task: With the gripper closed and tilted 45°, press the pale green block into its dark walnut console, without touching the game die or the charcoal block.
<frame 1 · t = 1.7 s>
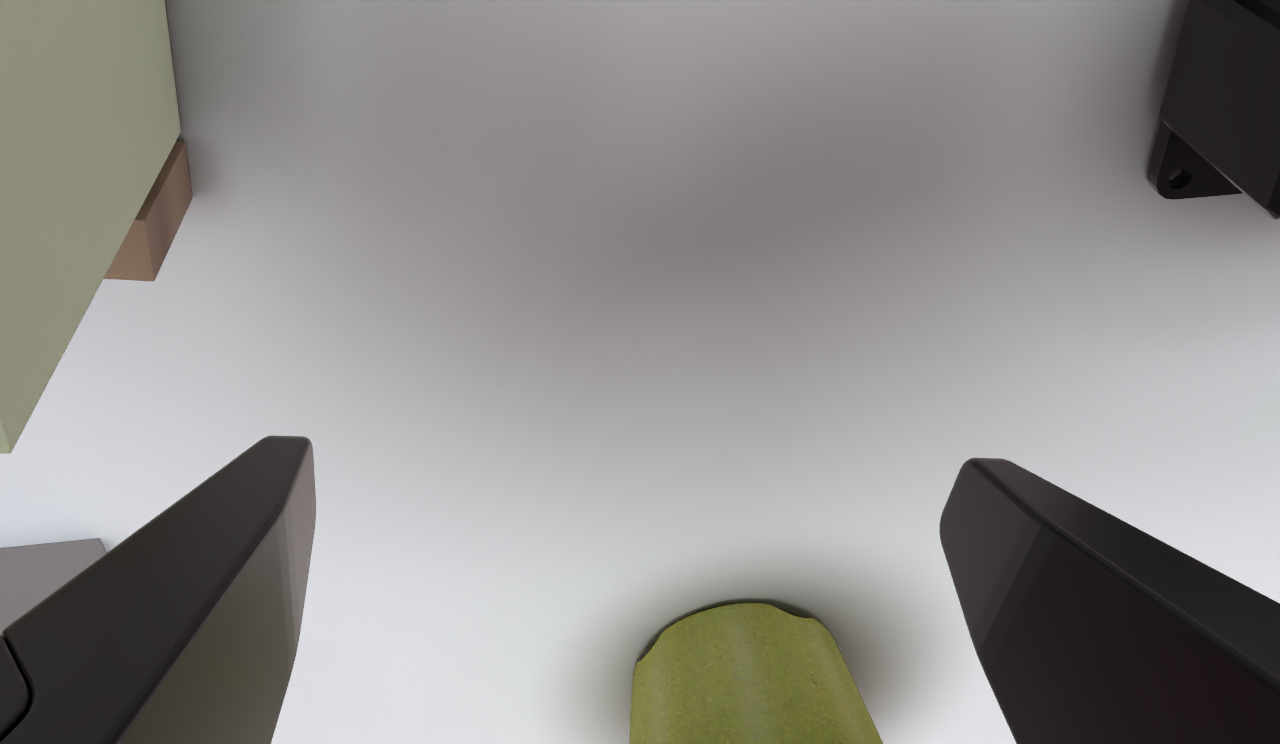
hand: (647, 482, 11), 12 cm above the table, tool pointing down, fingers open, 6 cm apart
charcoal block: (33, 615, 28), on the table
plant pot: (731, 661, 32), on the table
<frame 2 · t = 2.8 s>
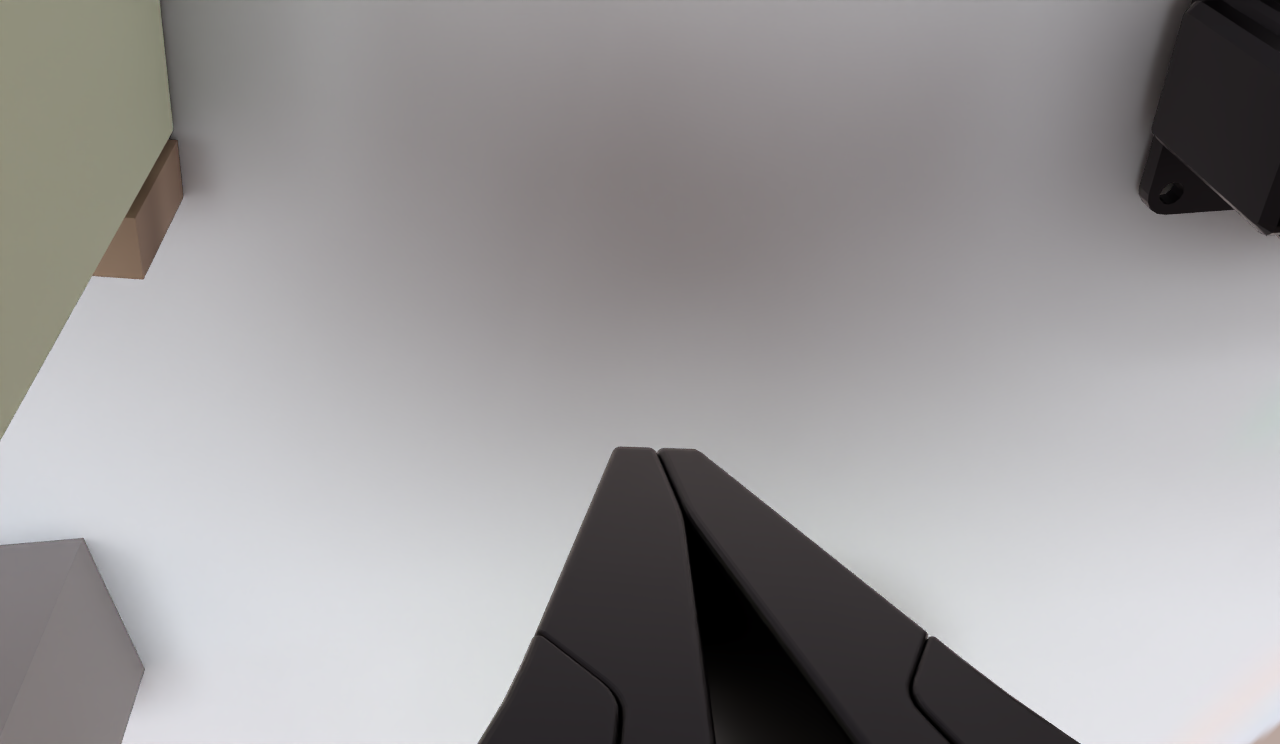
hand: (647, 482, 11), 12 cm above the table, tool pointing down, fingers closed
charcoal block: (14, 614, 28), on the table
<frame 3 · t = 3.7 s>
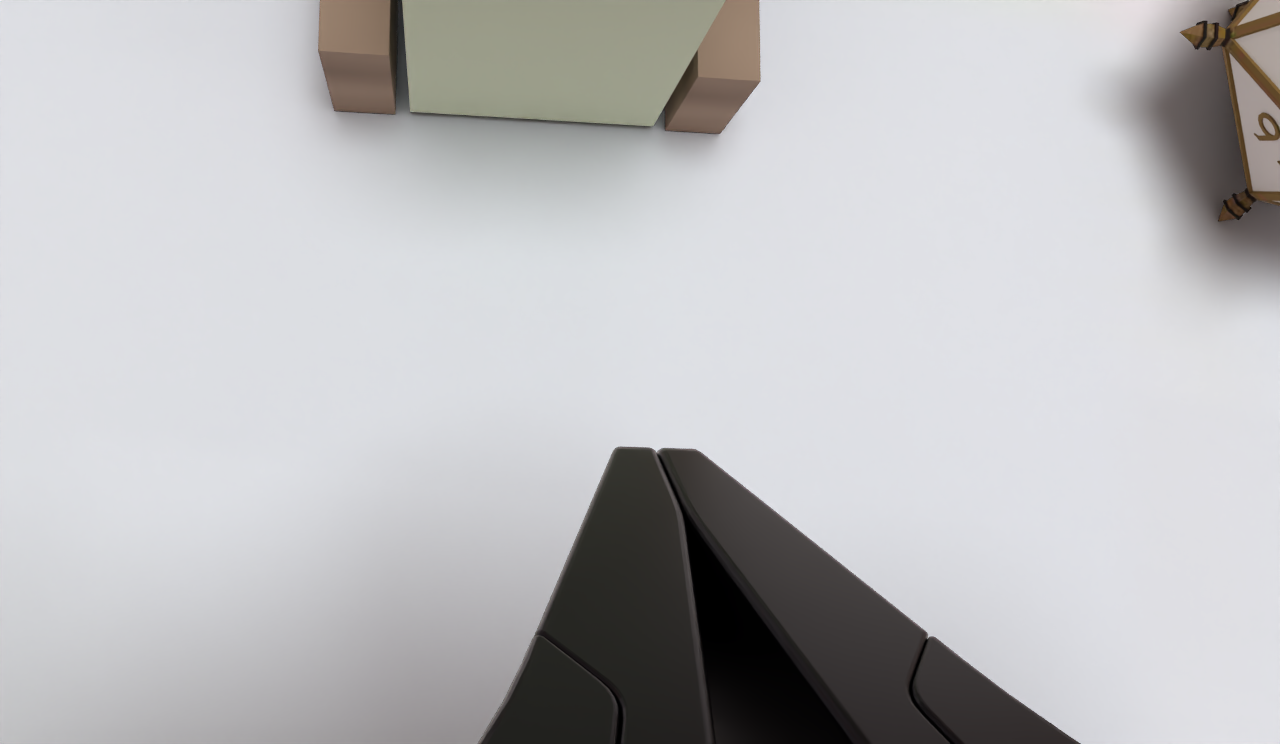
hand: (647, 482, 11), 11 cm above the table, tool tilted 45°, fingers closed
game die: (1273, 128, 26), on the table
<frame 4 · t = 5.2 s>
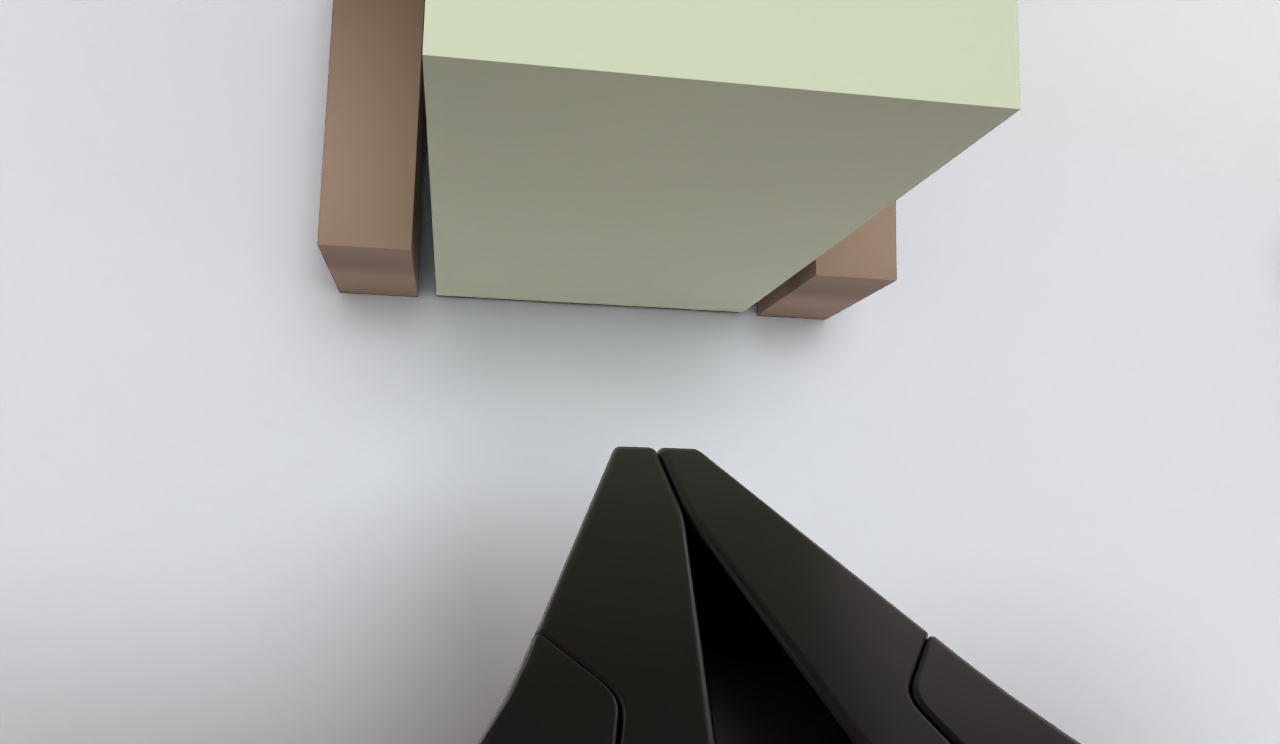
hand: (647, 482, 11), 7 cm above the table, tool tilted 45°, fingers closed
walnut console: (598, 74, 18), on the table
pale green block: (645, 35, 14), point 5 cm above the table, slide at 0.0 cm
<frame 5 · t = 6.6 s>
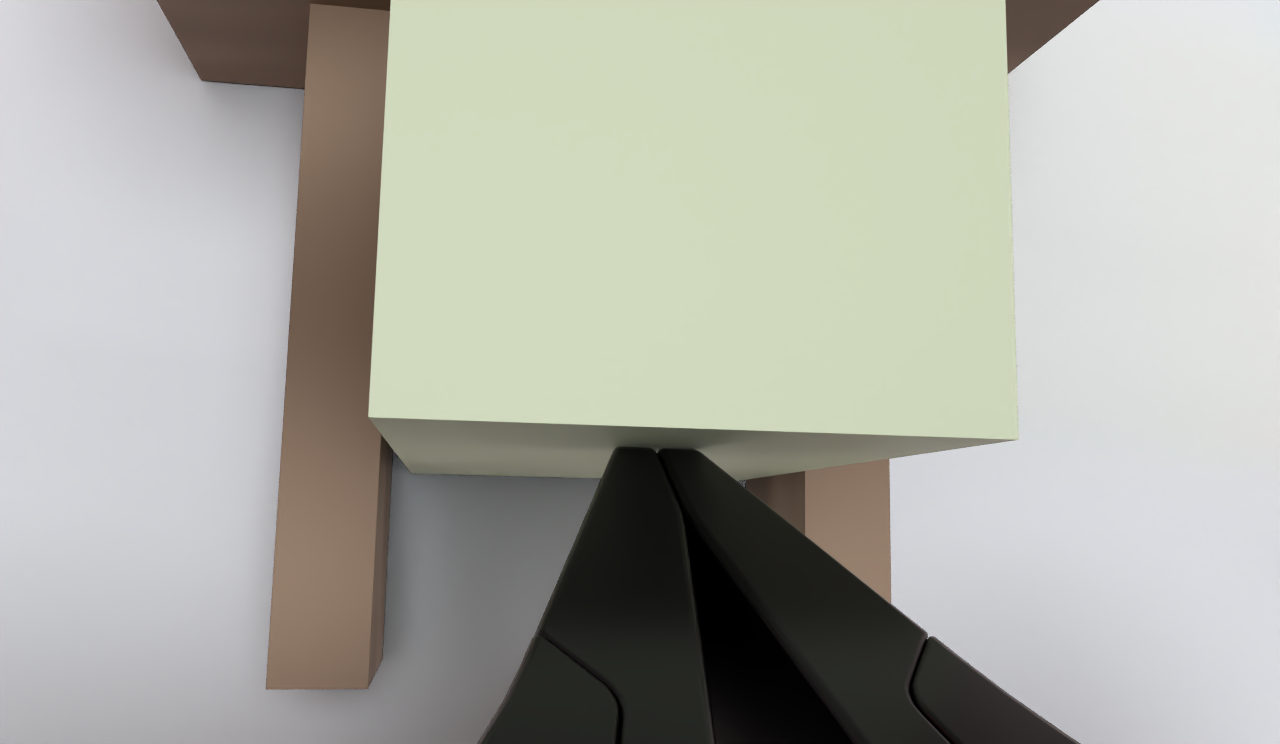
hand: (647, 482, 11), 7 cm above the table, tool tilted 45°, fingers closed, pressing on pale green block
walnut console: (575, 400, 17), on the table
pale green block: (623, 250, 13), point 5 cm above the table, slide at 2.8 cm, touching gripper
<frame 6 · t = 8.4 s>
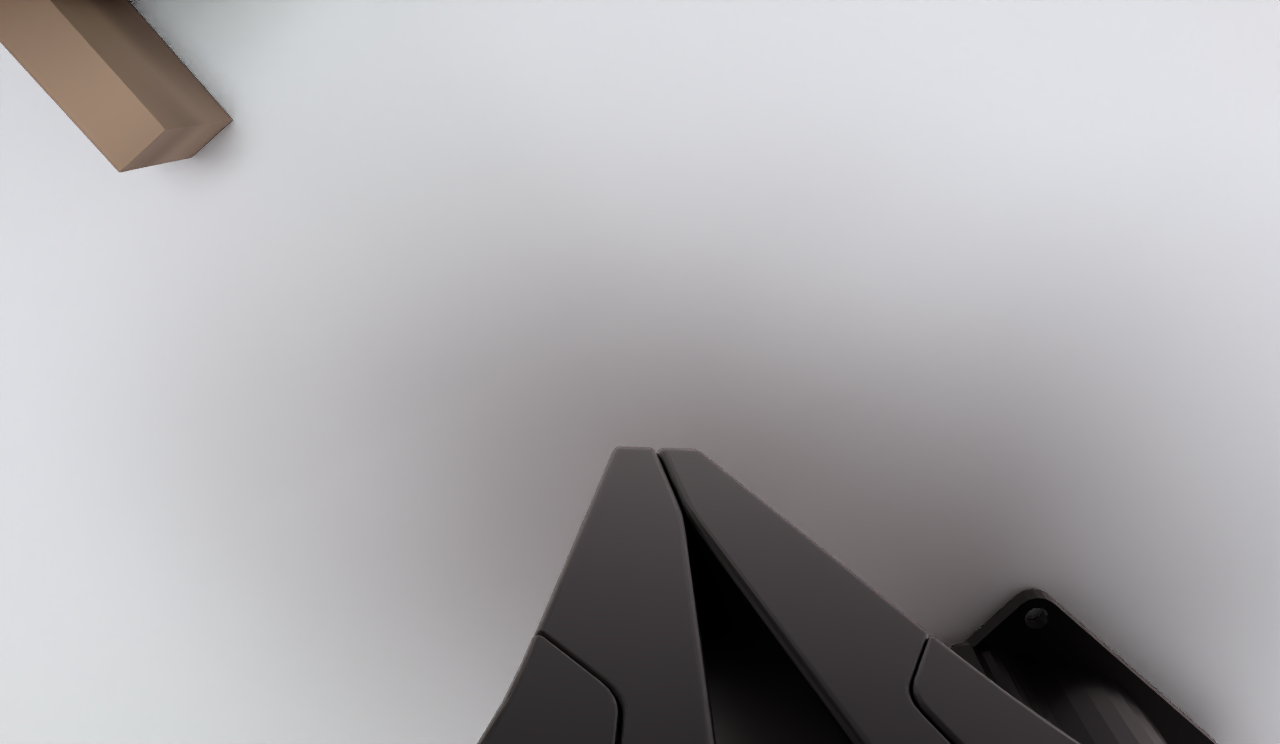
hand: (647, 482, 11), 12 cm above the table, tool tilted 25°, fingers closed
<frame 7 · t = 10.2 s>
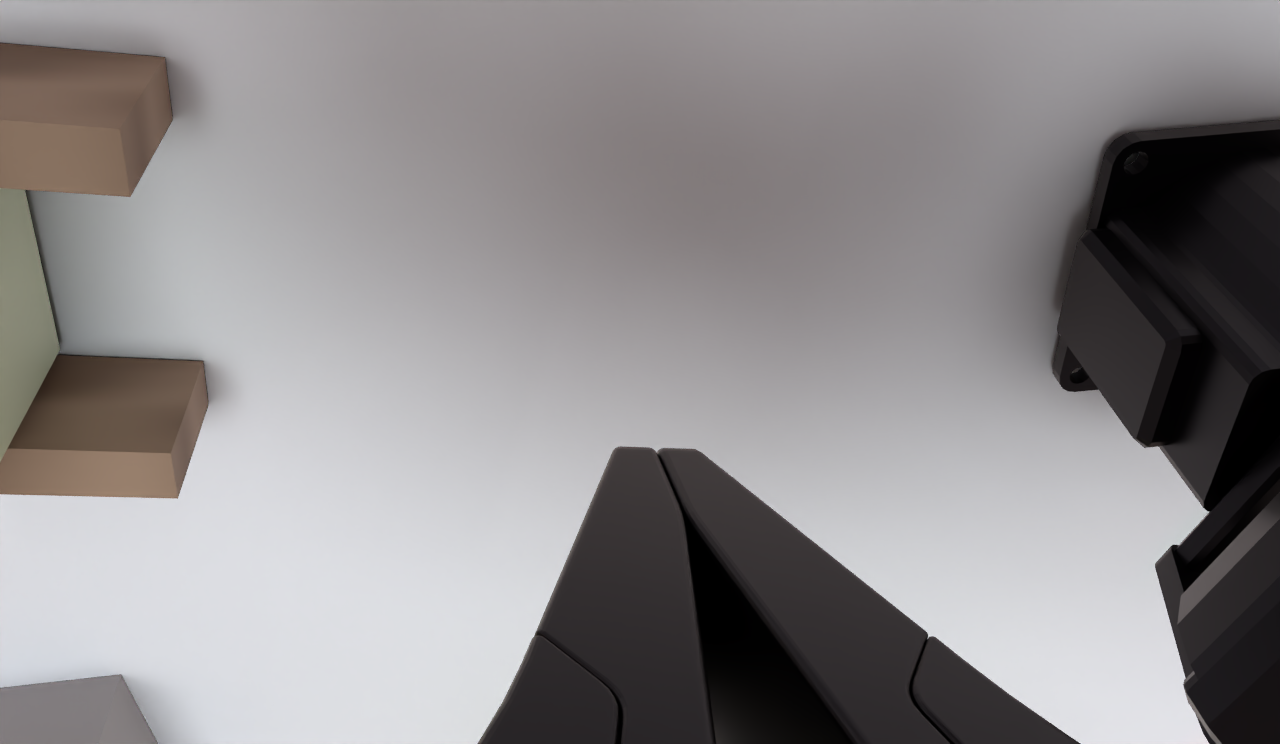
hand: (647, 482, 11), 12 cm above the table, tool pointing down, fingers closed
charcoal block: (60, 738, 31), on the table
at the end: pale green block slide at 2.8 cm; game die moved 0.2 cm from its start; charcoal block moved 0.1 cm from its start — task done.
